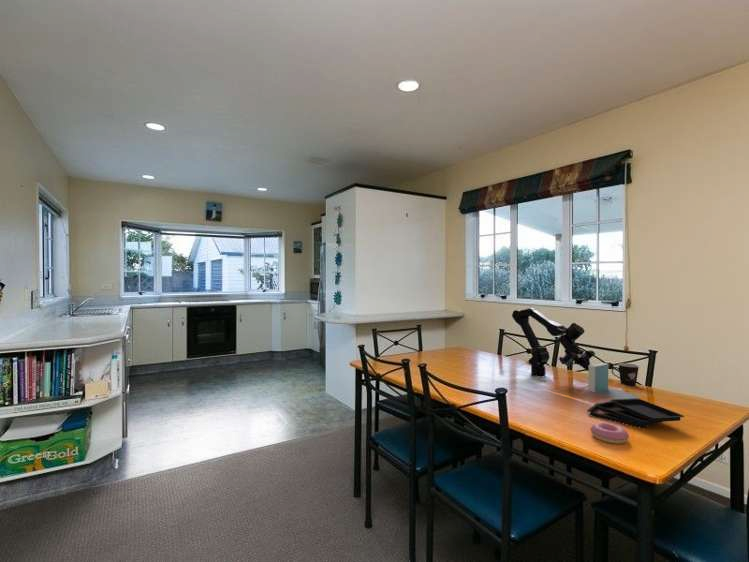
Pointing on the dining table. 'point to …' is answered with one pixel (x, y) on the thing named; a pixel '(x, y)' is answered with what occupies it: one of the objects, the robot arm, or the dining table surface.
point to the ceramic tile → (598, 377)
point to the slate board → (615, 394)
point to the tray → (634, 412)
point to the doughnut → (609, 433)
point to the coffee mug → (627, 373)
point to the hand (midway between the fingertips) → (590, 371)
